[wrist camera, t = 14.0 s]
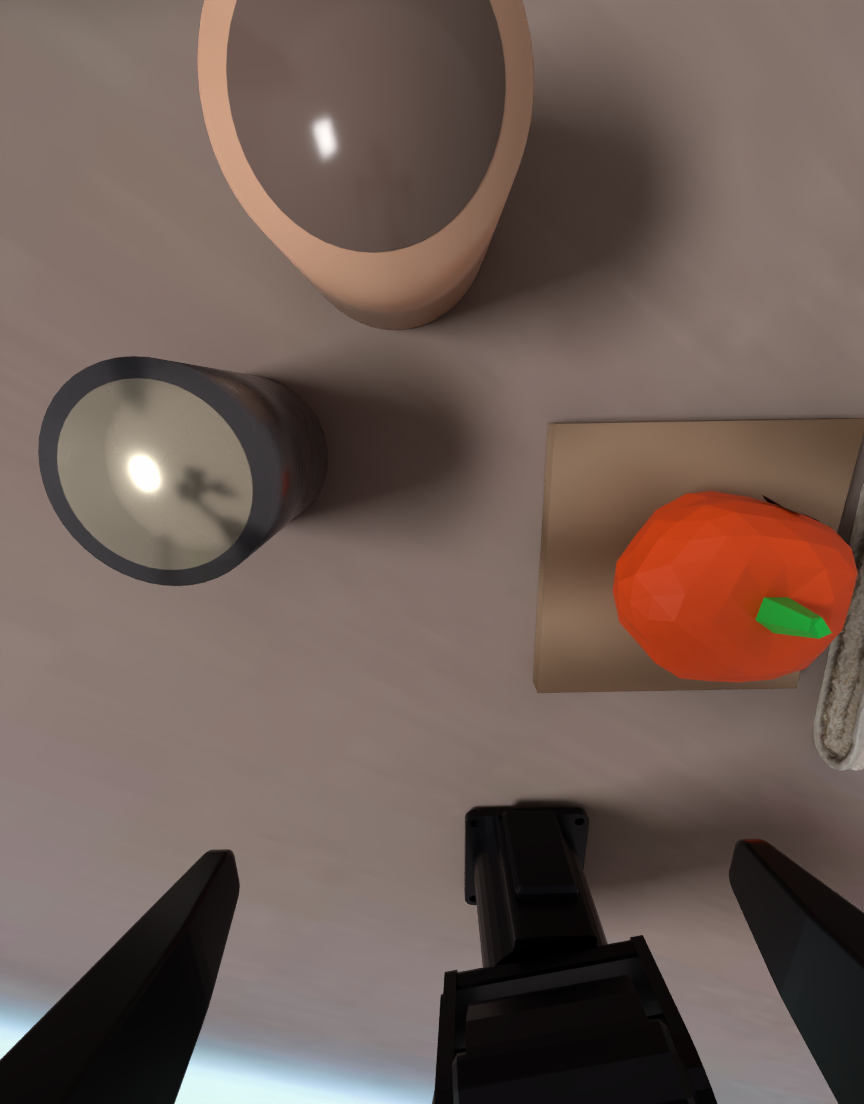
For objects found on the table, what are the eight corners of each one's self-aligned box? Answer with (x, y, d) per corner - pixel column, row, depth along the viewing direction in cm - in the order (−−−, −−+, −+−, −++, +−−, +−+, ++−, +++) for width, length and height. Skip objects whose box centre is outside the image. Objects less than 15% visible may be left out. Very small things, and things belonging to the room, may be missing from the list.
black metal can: (333, 523, 20) (283, 584, 13) (193, 525, 20) (70, 588, 13) (320, 373, 18) (255, 354, 11) (166, 376, 18) (6, 358, 11)
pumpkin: (600, 483, 19) (691, 491, 12) (791, 495, 19) (975, 508, 13) (579, 648, 20) (652, 732, 14) (758, 657, 20) (910, 744, 14)
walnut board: (780, 675, 22) (796, 688, 21) (532, 680, 22) (537, 692, 21) (844, 417, 18) (867, 418, 17) (548, 423, 18) (554, 424, 17)
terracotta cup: (488, 328, 17) (526, 279, 11) (303, 331, 17) (225, 284, 11) (492, 96, 15) (544, -149, 8) (282, 99, 15) (166, -145, 8)
